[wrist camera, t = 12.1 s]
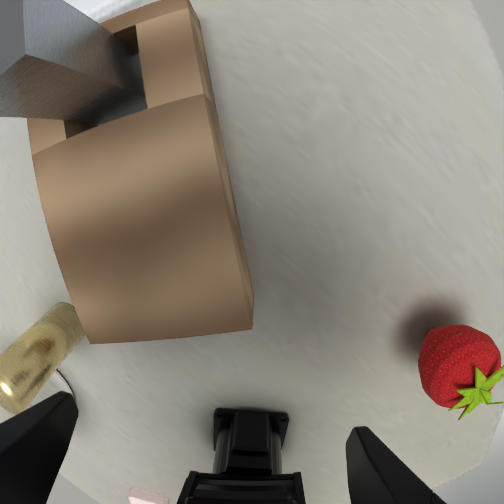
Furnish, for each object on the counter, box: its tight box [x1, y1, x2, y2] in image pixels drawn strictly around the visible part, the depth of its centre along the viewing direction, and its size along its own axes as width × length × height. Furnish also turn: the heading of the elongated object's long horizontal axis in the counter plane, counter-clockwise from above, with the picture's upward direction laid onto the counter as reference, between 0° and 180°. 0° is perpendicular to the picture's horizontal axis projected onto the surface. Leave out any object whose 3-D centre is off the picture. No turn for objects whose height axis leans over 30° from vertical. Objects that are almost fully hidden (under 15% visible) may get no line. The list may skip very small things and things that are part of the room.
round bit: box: [0, 303, 85, 415], centre depth 18 cm, size 4×4×10 cm
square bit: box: [0, 0, 148, 124], centre depth 11 cm, size 4×4×12 cm
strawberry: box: [418, 325, 504, 420], centre depth 17 cm, size 6×8×10 cm
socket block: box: [27, 0, 254, 344], centre depth 17 cm, size 19×11×4 cm, turn 11°
